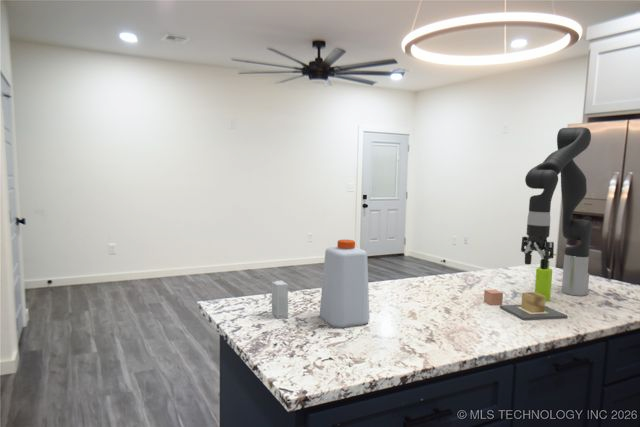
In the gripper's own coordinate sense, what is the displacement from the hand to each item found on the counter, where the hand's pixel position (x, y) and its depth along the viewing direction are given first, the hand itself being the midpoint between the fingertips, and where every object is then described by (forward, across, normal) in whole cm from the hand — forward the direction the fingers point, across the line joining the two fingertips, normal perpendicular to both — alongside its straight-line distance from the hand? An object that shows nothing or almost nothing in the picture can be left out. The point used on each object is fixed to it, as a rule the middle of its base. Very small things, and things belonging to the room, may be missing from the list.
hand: (535, 266), depth 154 cm
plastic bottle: (+18, +2, +73) cm, 75 cm away
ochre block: (+17, 0, 0) cm, 17 cm away
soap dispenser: (+18, +15, -17) cm, 29 cm away
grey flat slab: (+18, 0, 0) cm, 18 cm away
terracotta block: (+18, +13, +8) cm, 24 cm away
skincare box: (+18, +9, +95) cm, 97 cm away
